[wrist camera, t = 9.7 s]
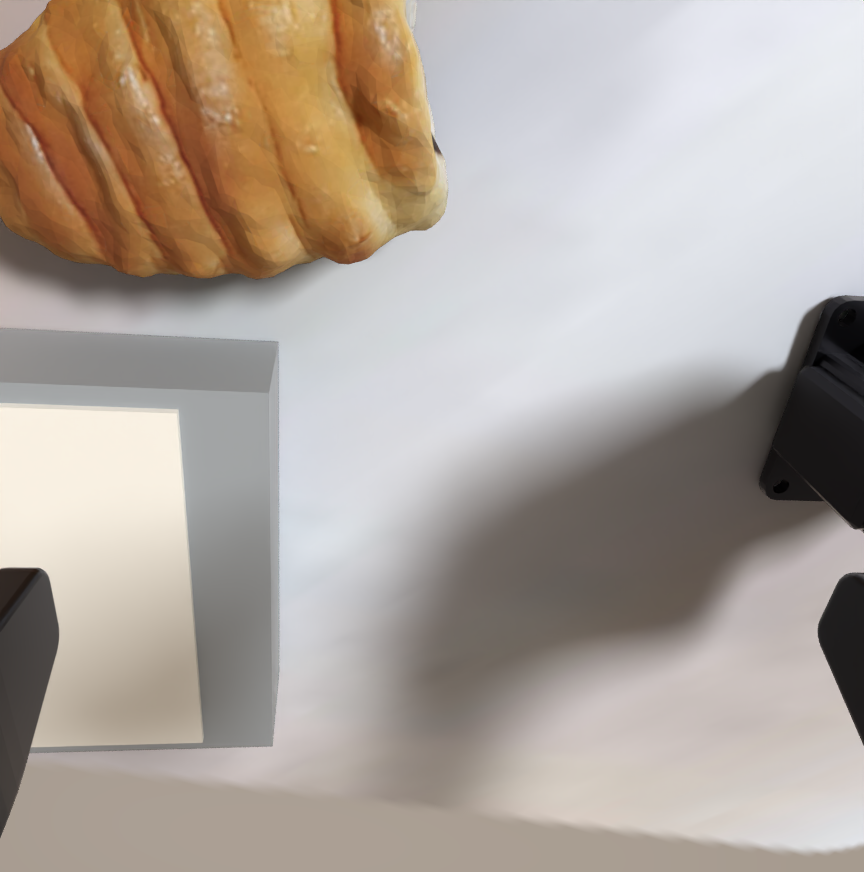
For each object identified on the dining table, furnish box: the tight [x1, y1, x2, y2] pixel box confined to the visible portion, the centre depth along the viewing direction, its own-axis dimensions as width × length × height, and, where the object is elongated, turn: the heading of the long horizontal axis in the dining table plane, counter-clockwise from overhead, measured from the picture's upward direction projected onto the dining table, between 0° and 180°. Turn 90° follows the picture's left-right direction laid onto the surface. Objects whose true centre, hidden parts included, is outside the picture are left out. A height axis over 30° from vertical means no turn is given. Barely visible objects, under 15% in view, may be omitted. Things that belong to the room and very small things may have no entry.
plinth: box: [0, 328, 279, 753], centre depth 20 cm, size 12×12×3 cm
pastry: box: [0, 0, 448, 279], centre depth 14 cm, size 9×7×4 cm
